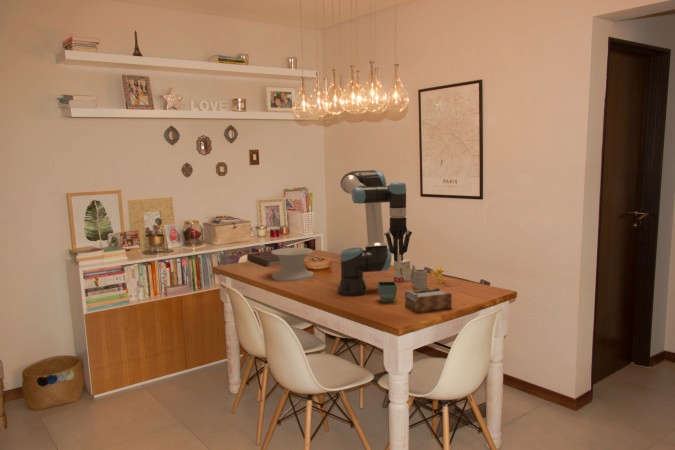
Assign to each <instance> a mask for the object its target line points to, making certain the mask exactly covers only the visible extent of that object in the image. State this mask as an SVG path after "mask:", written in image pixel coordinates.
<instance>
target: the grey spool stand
mask: <svg viewBox="0 0 675 450" xmlns="http://www.w3.org/2000/svg"><path fill="white" fill-rule="evenodd" d="M271 251H272V252H271V253H273V254H275V255H277V256H278V257H279V259H280V262H281V265H279V268H278V269H279V270H278V271H276V272H273V273H272V275H271V278H272V280H275V281H279V282H299V281H305V280H309V279H311V278H314V272H313V271H311V270H308V269H307V268H306V265H305V259H306V257H307V256H308V254H311V253H312V252H313V251H314V250H313V249H311V248H307V247H285V248H277V249H274V250H271Z"/></svg>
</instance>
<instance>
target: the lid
mask: <svg viewBox="0 0 675 450" xmlns="http://www.w3.org/2000/svg"><path fill="white" fill-rule="evenodd" d="M412 291H413V290H407V291H406V292H407V294H406V297H407V298H409V299H411V300H413V301H415V302H416V299H415V297H421V296H429V295H438V294H446V292H444V291H441V289H440V290H438V291H430V292H421V293H414V292H412Z"/></svg>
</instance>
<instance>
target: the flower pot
mask: <svg viewBox="0 0 675 450" xmlns="http://www.w3.org/2000/svg"><path fill="white" fill-rule="evenodd" d="M376 284H377V290H378V291H377V293H378V296H379V298H380V300H381V302H382V303H393V302H394V300H395V299H396V295H397V291H398V285H397V282H396V281H377V283H376Z"/></svg>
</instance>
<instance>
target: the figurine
mask: <svg viewBox="0 0 675 450" xmlns="http://www.w3.org/2000/svg"><path fill="white" fill-rule="evenodd" d="M437 267H438V266H435V269H436V270H433V269H431V270H430V274H431V276H432V277H433V278H434V279H436V281H435V284H443V283H444V281H446V280H448V281H449V280H450V281H451V280H453V281H454V279H452V278H443V273H444V272H445V270H444V268H443V267H442V266H441V267H438V268H437Z"/></svg>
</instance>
